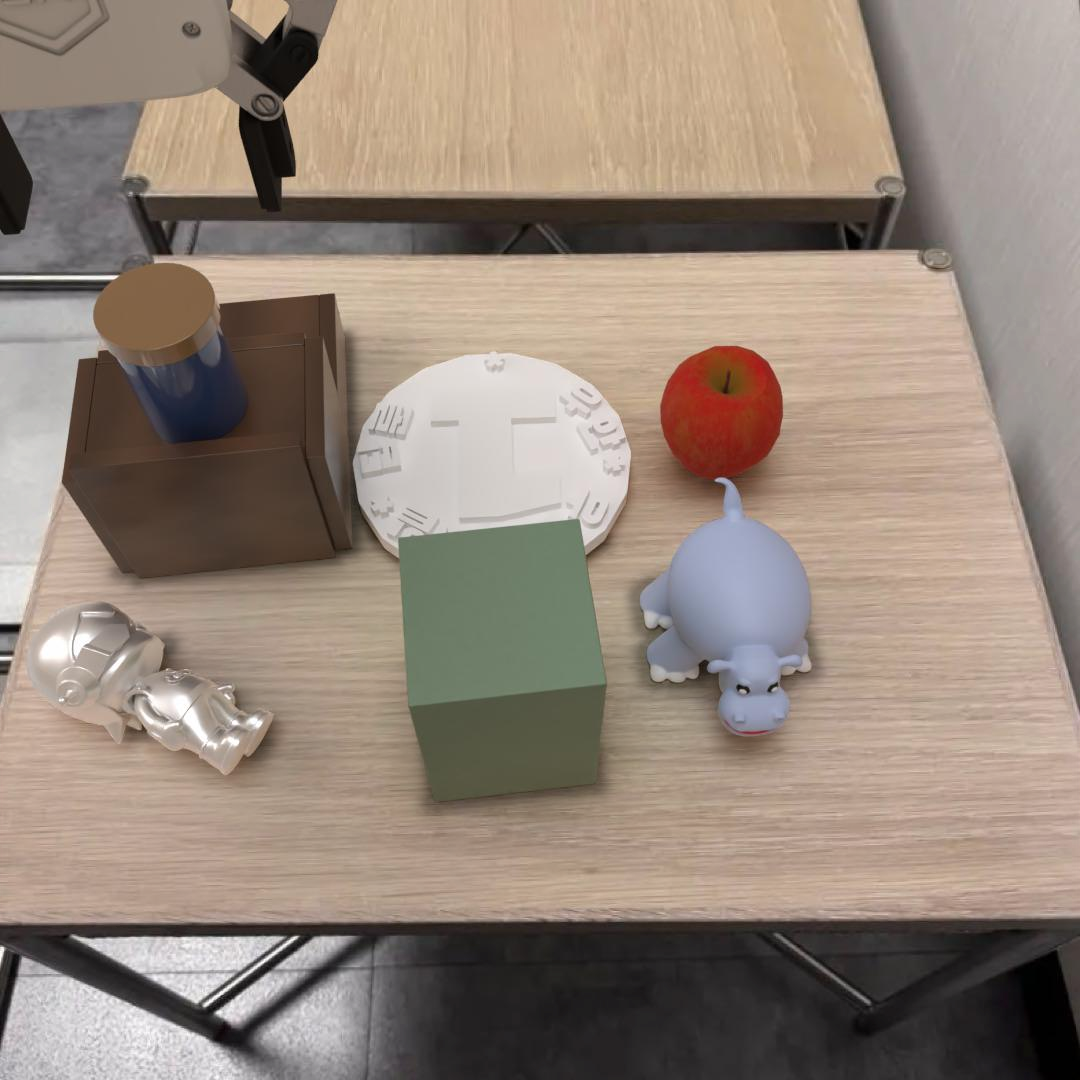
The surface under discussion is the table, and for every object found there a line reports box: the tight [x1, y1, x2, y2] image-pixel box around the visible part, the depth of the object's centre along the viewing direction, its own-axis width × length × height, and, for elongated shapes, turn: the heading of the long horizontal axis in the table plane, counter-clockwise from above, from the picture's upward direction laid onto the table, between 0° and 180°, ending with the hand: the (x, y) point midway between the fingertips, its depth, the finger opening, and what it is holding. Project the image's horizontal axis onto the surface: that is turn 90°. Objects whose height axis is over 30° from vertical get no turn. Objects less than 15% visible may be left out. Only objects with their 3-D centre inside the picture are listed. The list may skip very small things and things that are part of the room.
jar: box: [92, 262, 248, 443], centre depth 64 cm, size 7×7×9 cm
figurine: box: [26, 600, 275, 776], centre depth 66 cm, size 11×7×15 cm
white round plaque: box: [352, 350, 632, 559], centre depth 77 cm, size 20×20×3 cm
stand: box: [398, 519, 608, 803], centre depth 62 cm, size 10×10×15 cm
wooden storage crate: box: [61, 292, 353, 579], centre depth 75 cm, size 16×21×13 cm
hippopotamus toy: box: [639, 478, 812, 737], centre depth 67 cm, size 11×15×10 cm
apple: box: [659, 345, 784, 481], centre depth 75 cm, size 9×8×11 cm
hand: (147, 198), depth 41 cm, fingers open, 9 cm apart
